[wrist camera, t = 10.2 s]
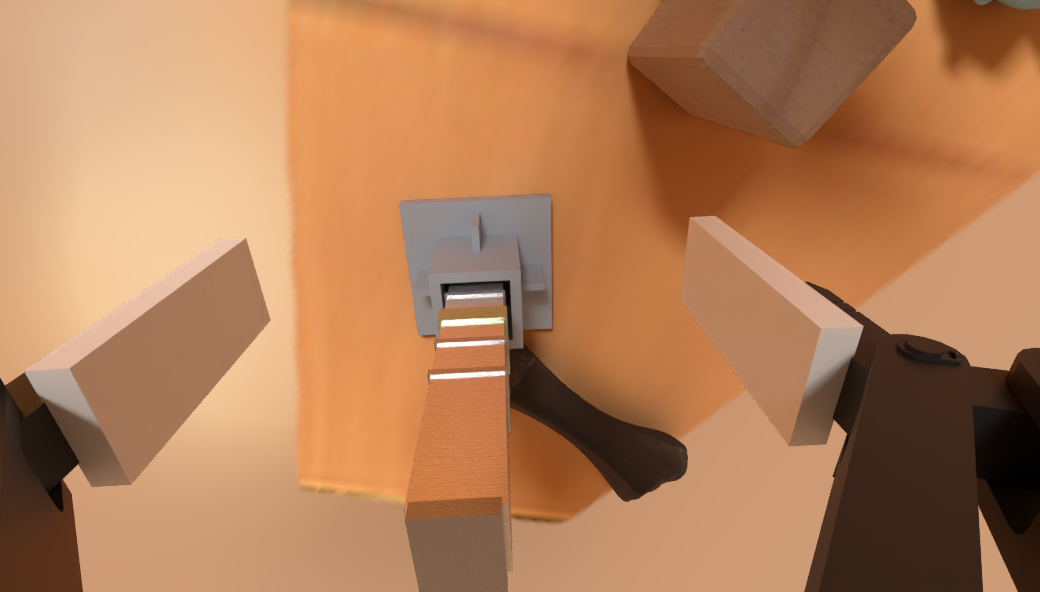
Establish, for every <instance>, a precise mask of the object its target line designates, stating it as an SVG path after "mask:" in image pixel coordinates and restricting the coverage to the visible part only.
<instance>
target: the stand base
mask: <svg viewBox="0 0 1040 592" xmlns="http://www.w3.org/2000/svg"><path fill="white" fill-rule="evenodd" d="M399 207H400V214H401V221H402V227H403V234H404V241H405V248H406V254H407V261H408V268H409V275H410V281H411V288H412V295H413V302H414V309H415V315H416V322H417V329H418V336H419V335H436V339H439V329H438V321H437V320H438V316H439V311H440V309H445V296H444V295H445V293H448V290H449V285H450V283H464V282H484V281H503V290H505V299H506V306H507V320H508V339H509V349H517V348H524V347H523V330H534V329H552V255H551V196H550V194H536V195H514V196H492V197H471V198H449V199H427V200H405V201H401V202H400V204H399Z"/></svg>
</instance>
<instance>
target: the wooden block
mask: <svg viewBox="0 0 1040 592" xmlns="http://www.w3.org/2000/svg"><path fill="white" fill-rule="evenodd" d="M916 19H917V17H916V13H915V10H914V8H913V7H912V6H911V5H910V4H909V3H908V1H907V0H664V1H663V2H662V4H661V5H660V6H659V8H658V9H657V10H656V12H655V13H654V15H653V16H652V17H651V19H650V20H649V21H648V23H647V24H646V26H645V27H644V28H643V30H642V31H641V33H640V34H639V35H638V37H637V38H636V39H635V41H634V42H633V44H632V45H631V46H630V48H629V52H628V55H627V57H628V59H629V62H630V64H631V65H632V66H634V67H635V68H636V69H637V70H638V71H639V72H641V73H642V74H643V75H644V76H645V77H646V78H648V79H649V80H650V81H651V82H652V83H653V84H655V85H656V86H657V87H658V88H659V89H660V90H661V91H663V92H664V93H665V94H666V95H667V96H668V97H670V98H671V99H672V100H673V101H674V102H675V103H677V104H678V105H679V106H680V107H681V108H682V109H683V110H685V111H686V112H687V113H688V114H689V115H691V116H694V117H697V118H700V119H704V120H707V121H710V122H713V123H716V124H719V125H722V126H725V127H729V128H732V129H735V130H738V131H741V132H744V133H747V134H750V135H754V136H757V137H760V138H763V139H766V140H769V141H772V142H775V143H779V144H782V145H785V146H789V147H793V148H795V147H799V146H801V145H802V144H804V143H805V142H807V141H808V140H809V139H810V138H811V137H812V136H813V135H814V134H815V133H816V132H817V131H818V130H819V128H820V127H821V126H822V125H823V124H824V123H825V122H826V121H827V120H828V119H829V118H830V117H831V115H832V114H833V113H834V112H835V111H836V110H837V109H838V108H839V107H840V106H841V105H842V104H843V102H844V101H845V100H846V99H847V98H848V97H849V96H850V95H851V94H852V93H853V92H854V91H855V89H856V88H857V87H858V86H859V85H860V84H861V83H862V82H863V81H864V80H865V79H866V78H867V76H868V75H869V74H870V73H871V72H872V71H873V70H874V69H875V68H876V67H877V66H878V65H879V63H880V62H881V61H882V60H883V59H884V58H885V57H886V56H887V55H888V54H889V53H890V52H891V50H892V49H893V48H894V47H895V46H896V45H897V44H898V43H899V42H900V41H901V40H902V39H903V37H904V36H905V35H906V34H907V33H908V32H909V31H910V30H911V29H912V27H913V25H914V23H915V21H916Z"/></svg>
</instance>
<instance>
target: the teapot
mask: <svg viewBox="0 0 1040 592" xmlns="http://www.w3.org/2000/svg"><path fill="white" fill-rule="evenodd" d="M990 1H992V0H974V2H975V3H976V4H978V5H985V4H987V3H989V2H990ZM997 1H998V2H1000V3H1001V4H1003V5H1005V6H1008V7H1010V8H1014V9H1021V10H1029V9H1038V8H1040V0H997Z"/></svg>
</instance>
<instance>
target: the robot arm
mask: <svg viewBox="0 0 1040 592" xmlns="http://www.w3.org/2000/svg"><path fill="white" fill-rule="evenodd" d="M680 300H681V302H682V303H683V304H684V306H685V307H686V308H687V310H688V311H689V312H690V314H691V315H692V316H693V318H694V319H695V321H696V322H697V323H698V325H699V326H700V327H701V329H702V330H703V331H704V333H705V334H706V335H707V337H708V338H709V339H710V341H711V342H712V343H713V345H714V346H715V347H716V349H717V350H718V351H719V353H720V354H721V355H722V357H723V358H724V360H725V361H726V362H727V364H728V365H729V366H730V368H731V369H732V370H733V372H734V373H735V374H736V376H737V377H738V378H739V380H740V381H741V382H742V384H743V385H744V386H745V388H746V389H747V390H748V392H749V393H750V394H751V396H752V397H753V399H754V400H755V401H756V402H757V404H758V405H759V407H760V408H761V409H762V410H763V412H764V413H765V415H766V416H767V417H768V419H769V420H770V421H771V423H772V424H773V425H774V427H775V428H776V429H777V431H778V432H779V433H780V435H781V436H782V437H783V439H784V440H785V442H786V443H787V444H788V445H789V446H800V445H801V446H803V445H819V444H826V443H827V440H828V437H829V434H830V431H831V427H832V424H833V421H834V420H835V421H836V422H837V423H838V424H839V425H840V426H841V428H842V429H843V430H844V431H845V432H846V433H847V436H846V439H845V441H844V445H843V448H842V450H841V453H840V457H839V459H838V462H837V465H836V468H835V471H834V474H833V477H834V481H833V486H832V489H831V493H830V496H829V500H828V504H827V508H826V512H825V515H824V519H823V523H822V527H821V531H820V535H819V538H818V542H817V546H816V549H815V553H814V557H813V561H812V565H811V568H810V572H809V576H808V580H807V584H806V587H805V591H804V592H983V583H982V565H981V548H980V530H979V513H978V506H979V508H980V510H981V512H982V514H983V516H984V519H985V521H986V523H987V525H988V527H989V530H990V532H991V534H992V536H993V538H994V541H995V543H996V545H997V547H998V549H999V551H1000V554H1001V556H1002V558H1003V560H1004V562H1005V564H1006V567H1007V569H1008V571H1009V573H1010V575H1011V578H1012V580H1013V582H1014V584H1015V586H1016V589H1017V591H1018V592H1040V348H1030V349H1023V350H1022V351H1021V352H1019V353H1018V354H1017V356H1016V358H1015V360H1014V362H1013V364H1012V366H1011V368H1010V370H1009V371H1007V370H998V369H990V368H981V367H972V366H970V364H969V362H968V360H967V358H966V357H965V356H964V355H962V354H961V353H960V352H959V351H957V350H956V349H954V348H952V347H950V346H947V345H945V344H943V343H941V342H938V341H935V340H932V339H928V338H925V337H920V336H914V335H908V334H892V335H891V334H889V333H888V332H886V331H885V330H884V329H882V328H881V327H879V326H878V325H877V324H875V323H874V322H872V321H871V320H870V319H868V318H867V317H865V316H864V315H863V314H861V313H860V312H856V309H854V308H853V307H851V306H850V305H849V304H847V303H844V301H843V300H842V299H840V298H839V297H837V296H836V295H835V294H833V293H832V292H830V291H829V290H827V289H824V288H822V287H819V286H817V285H815V284H812V283H810V282H803V281H802V280H801V279H799V278H798V277H797V276H795V275H794V274H793V273H791V272H790V271H789V270H787V269H786V268H785V267H783V266H782V265H781V264H779V263H778V262H777V261H775V260H774V259H772V258H771V257H770V256H768V255H767V254H766V253H764V252H763V251H762V250H760V249H759V248H758V247H756V246H755V245H754V244H752V243H751V242H750V241H748V240H747V239H746V238H744V237H743V236H742V235H740V234H739V233H738V232H736V231H735V230H734V229H732V228H731V227H729V226H728V225H727V224H725V223H724V222H723V221H721V220H720V219H719V218H717V217H716V216H701V217H690V219H689V228H688V236H687V244H686V252H685V260H684V268H683V277H682V285H681V293H680ZM269 321H270V317H269V314H268V310H267V307H266V303H265V300H264V297H263V293H262V290H261V287H260V283H259V280H258V277H257V273H256V270H255V267H254V263H253V260H252V257H251V254H250V250H249V247H248V243H247V240H246V238H239V239H219V240H218V241H216V242H215V243H213V244H212V245H210V246H209V247H207V248H206V249H205V250H203V251H202V252H200V253H199V254H197V255H196V256H194V257H193V258H191V259H190V260H188V261H187V262H185V263H184V264H182V265H181V266H179V267H178V268H176V269H175V270H173V271H172V272H170V273H169V274H167V275H166V276H164V277H163V278H161V279H160V280H158V281H157V282H155V283H154V284H152V285H151V286H149V287H148V288H146V289H145V290H143V291H142V292H140V293H139V294H137V295H136V296H134V297H133V298H131V299H130V300H128V301H127V302H126V303H124V304H123V305H121V306H120V307H118V308H117V309H115V310H114V311H112V312H111V313H109V314H108V315H106V316H105V317H103V318H102V319H100V320H99V321H97V322H96V323H94V324H93V325H91V326H90V327H88V328H87V329H85V330H84V331H82V332H81V333H79V334H78V335H76V336H75V337H73V338H72V339H70V340H69V341H67V342H66V343H64V344H63V345H61V346H60V347H58V348H57V349H55V350H54V351H53V352H51V353H50V354H48V355H46V356H45V357H44V358H42V359H41V360H39V361H38V362H36V363H35V364H33V365H32V366H30V367H29V368H27V369H26V370H24V373H23V374H21V375H20V376H19V377H17V378H16V379H14V380H13V381H11V382H10V383H8V384H7V385H4V384H3V382H2V380H1V379H0V592H83V590H82V580H81V572H80V563H79V554H78V545H77V537H76V529H75V519H74V510H73V502H72V494H71V492H70V490H69V489H68V488H67V486H66V484H65V482H64V481H63V478H64V477H65V476H66V475H67V474H68V473H69V472H70V471H71V470H73V468H74V467H76V466H77V465H78V464H79V466H80V468H81V469H82V471H83V473H84V475H85V476H86V478H87V480H88V481H89V483H90V485H91V486H92V487H99V486H116V485H131V484H132V483H133V482H134V481H135V480H136V478H137V477H138V476H139V475H140V473H141V472H142V471H143V470H144V469H145V468H146V467H147V465H148V464H149V463H150V462H151V461H152V460H153V458H154V457H155V456H156V455H157V454H158V452H159V451H160V450H161V449H162V448H163V447H164V445H165V444H166V443H167V442H168V441H169V439H170V438H171V437H172V436H173V435H174V434H175V432H176V431H177V430H178V429H179V428H180V427H181V425H182V424H183V423H184V422H185V421H186V419H187V418H188V417H189V416H190V415H191V413H192V412H193V411H194V410H195V409H196V408H197V407H198V405H199V404H200V403H201V402H202V401H203V399H204V398H205V397H206V396H207V395H208V394H209V392H210V391H211V390H212V389H213V388H214V386H215V385H216V384H217V383H218V382H219V381H220V379H221V378H222V377H223V376H224V375H225V373H226V372H227V371H228V370H229V369H230V367H231V366H232V365H233V364H234V363H235V362H236V360H237V359H238V358H239V357H240V356H241V355H242V353H243V352H244V351H245V350H246V349H247V348H248V346H249V345H250V344H251V343H252V342H253V340H254V339H255V338H256V337H257V335H259V333H260V332H261V331H262V330H263V329H264V327H265V326H266V325H267V324H268V323H269Z"/></svg>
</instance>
